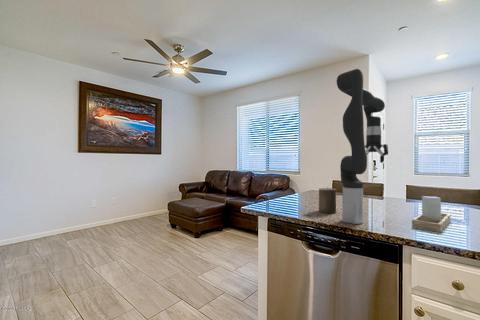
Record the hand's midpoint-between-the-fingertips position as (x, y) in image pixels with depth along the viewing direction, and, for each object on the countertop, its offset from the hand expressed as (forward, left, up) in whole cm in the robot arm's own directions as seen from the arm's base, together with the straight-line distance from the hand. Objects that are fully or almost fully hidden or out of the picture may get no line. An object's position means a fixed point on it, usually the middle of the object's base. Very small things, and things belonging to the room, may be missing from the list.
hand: (373, 162), depth 132 cm
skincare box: (-3, -27, -29) cm, 39 cm away
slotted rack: (-3, -27, -30) cm, 40 cm away
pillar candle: (-18, +19, -30) cm, 40 cm away
